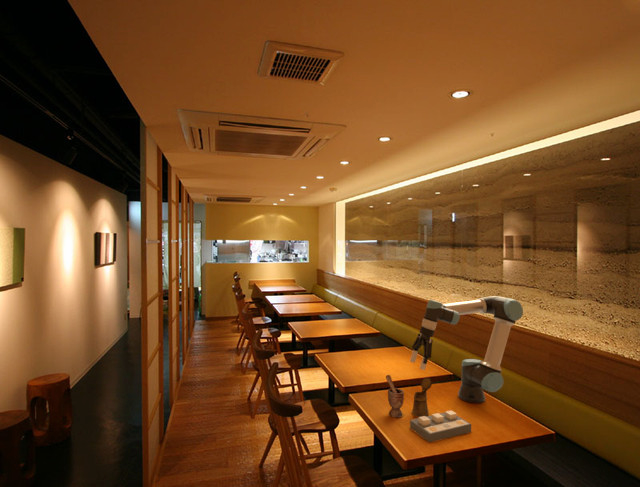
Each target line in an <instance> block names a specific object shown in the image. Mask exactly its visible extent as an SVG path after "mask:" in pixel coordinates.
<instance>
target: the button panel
mask: <svg viewBox="0 0 640 487" xmlns="http://www.w3.org/2000/svg"><path fill="white" fill-rule="evenodd" d="M439 414H441V415H442V416H444V422H441V423H436V422H435V421H433V420H432V414H431V415H428V416H427V418H429V419H430V425H427V426H422V425H421V424H419V423H418V419H419V417H417V418H414V419H410V420H409V428H410V430H412V431H413V432H415V433H416V434H418V435H419V436H420V437H422V439H424V440H425V441H426V442H428V443H433V442H437V441H441V440H445V439H449V438H452V437H457V436H461V435H465V434H469V433H472V423H471V422H469V421H467V420H466V419H464V418H462V417H460V416H459V415H457V419H454V420H449V419H448V418H446V417H445V412H441V413H439Z"/></svg>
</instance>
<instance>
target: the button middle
mask: <svg viewBox="0 0 640 487" xmlns="http://www.w3.org/2000/svg"><path fill="white" fill-rule="evenodd" d="M431 415H432V420H433V421H435V422H436V423H441V422H444V416H442V415H441V414H440V413H439V412H437V413H433V414H431Z"/></svg>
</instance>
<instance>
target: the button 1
mask: <svg viewBox="0 0 640 487" xmlns="http://www.w3.org/2000/svg"><path fill="white" fill-rule="evenodd" d="M418 418H419V419H418V423H419V424H421V425H422V426H427V425H430V419H429V418H427V417H426V416H422V417H418Z"/></svg>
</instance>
